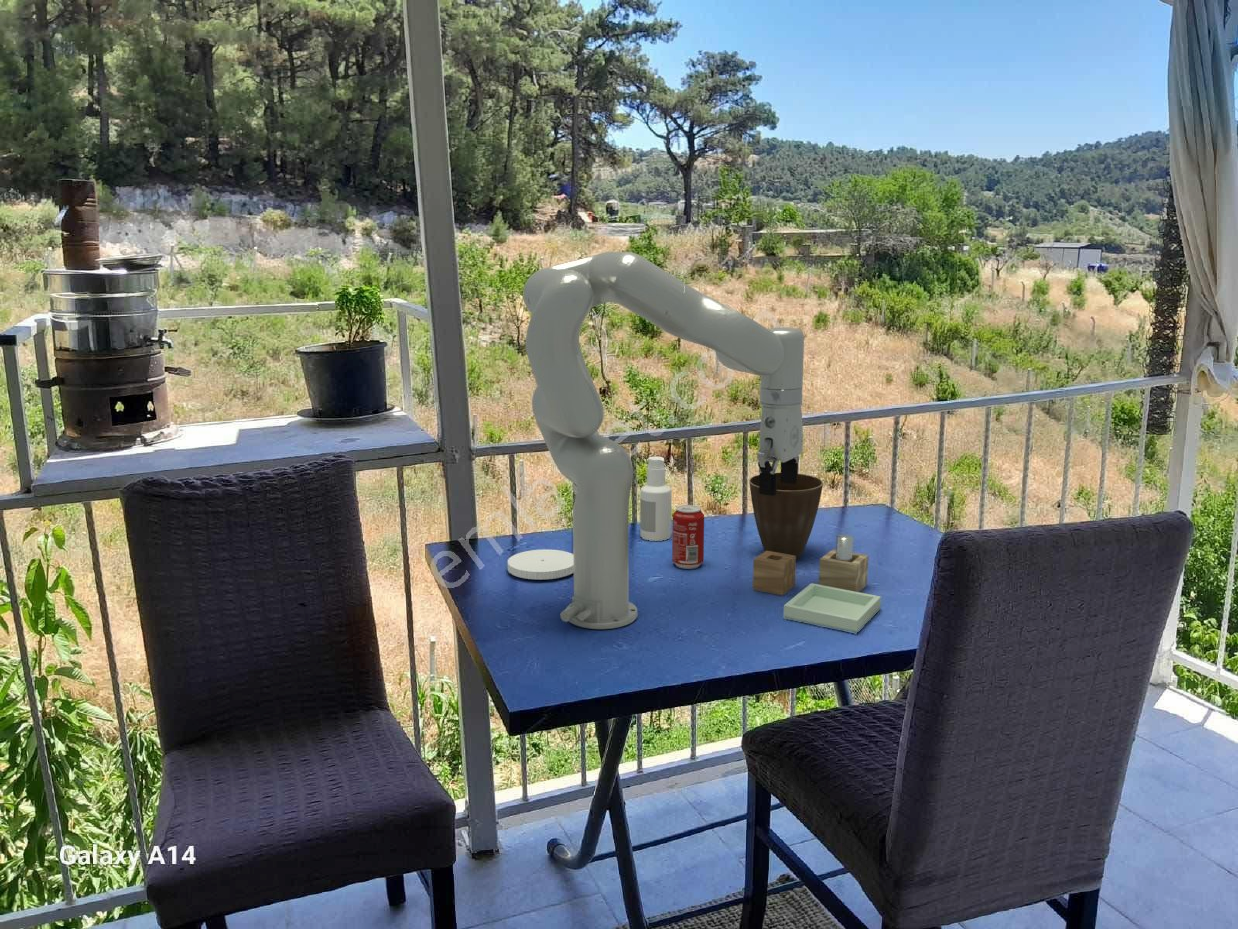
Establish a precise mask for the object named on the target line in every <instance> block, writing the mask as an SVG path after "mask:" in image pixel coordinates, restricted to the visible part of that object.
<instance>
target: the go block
mask: <svg viewBox="0 0 1238 929" xmlns="http://www.w3.org/2000/svg"><path fill="white" fill-rule="evenodd" d="M868 569H869V555H868V554H864V553H858V552H852V562H847V561H841V560H836V548H835V549H834V548H832V549H831V550H830V551H828V552H827V553H826V554H824V555H823V556H822V557H821V558H819V572H818V585H823V586H829V587H834V588H839V589H844V590H849V591H855V592H860V593H861V591H862V590H863V589H864V588H865V587H867V584H868V573H869V570H868Z"/></svg>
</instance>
